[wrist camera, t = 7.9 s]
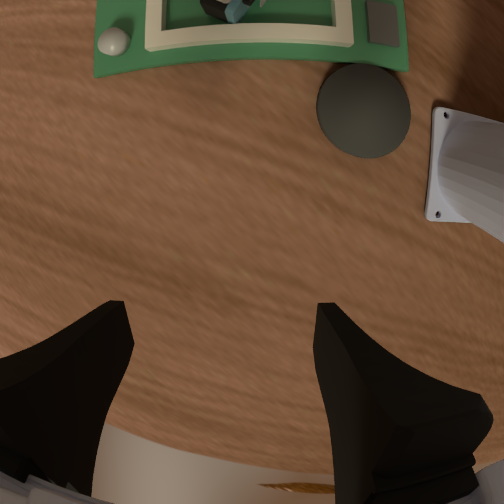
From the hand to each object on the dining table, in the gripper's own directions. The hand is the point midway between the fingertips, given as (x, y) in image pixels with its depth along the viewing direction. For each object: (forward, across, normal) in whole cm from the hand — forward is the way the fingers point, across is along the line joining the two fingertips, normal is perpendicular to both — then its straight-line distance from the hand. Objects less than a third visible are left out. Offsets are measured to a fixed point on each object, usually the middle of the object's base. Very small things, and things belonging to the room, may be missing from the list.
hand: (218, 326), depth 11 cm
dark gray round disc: (+11, -8, -8) cm, 16 cm away
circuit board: (+10, -1, -18) cm, 21 cm away
